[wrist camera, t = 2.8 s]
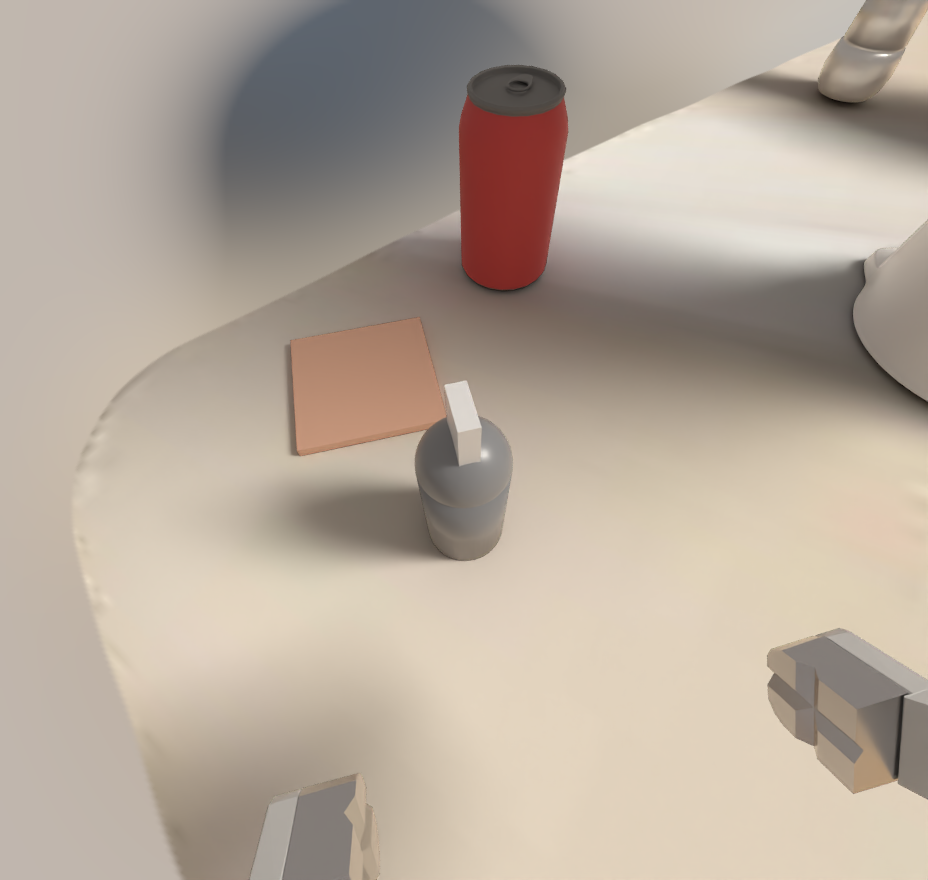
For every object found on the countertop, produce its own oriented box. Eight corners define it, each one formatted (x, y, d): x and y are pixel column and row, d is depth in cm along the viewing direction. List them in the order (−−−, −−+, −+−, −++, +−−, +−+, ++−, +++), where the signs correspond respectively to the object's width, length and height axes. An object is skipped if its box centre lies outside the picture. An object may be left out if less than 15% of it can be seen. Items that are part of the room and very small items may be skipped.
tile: (420, 323, 32) (419, 316, 32) (447, 424, 28) (447, 419, 27) (293, 346, 31) (290, 340, 31) (300, 455, 27) (297, 450, 26)
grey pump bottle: (491, 483, 26) (503, 350, 16) (511, 550, 24) (538, 442, 14) (422, 499, 25) (393, 371, 16) (436, 568, 23) (414, 470, 14)
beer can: (556, 252, 36) (590, 71, 26) (527, 305, 33) (553, 122, 23) (481, 232, 38) (485, 53, 27) (447, 281, 35) (437, 99, 24)
